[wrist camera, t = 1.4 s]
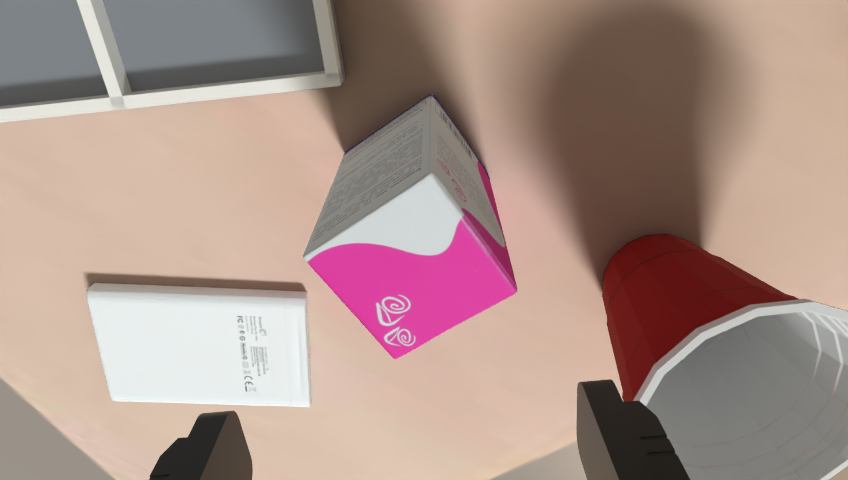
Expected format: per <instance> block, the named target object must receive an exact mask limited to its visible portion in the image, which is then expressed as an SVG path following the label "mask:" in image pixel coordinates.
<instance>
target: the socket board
mask: <svg viewBox="0 0 848 480" xmlns="http://www.w3.org/2000/svg"><path fill="white" fill-rule="evenodd" d="M345 78H346V76H345V70H344V64H343V58H342V51H341V45H340V39H339V33H338V26H337V20H336V14H335V8H334V1H333V0H0V122H10V121H19V120H28V119H37V118H47V117H56V116H65V115H75V114H84V113H93V112H102V111H112V110H121V109H130V108H140V107H149V106H158V105H167V104H177V103H186V102H195V101H205V100H214V99H223V98H232V97H242V96H251V95H260V94H270V93H279V92H288V91H297V90H307V89H316V88H325V87H335V86H341V84H342V83H343V81H344V80H345Z"/></svg>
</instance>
